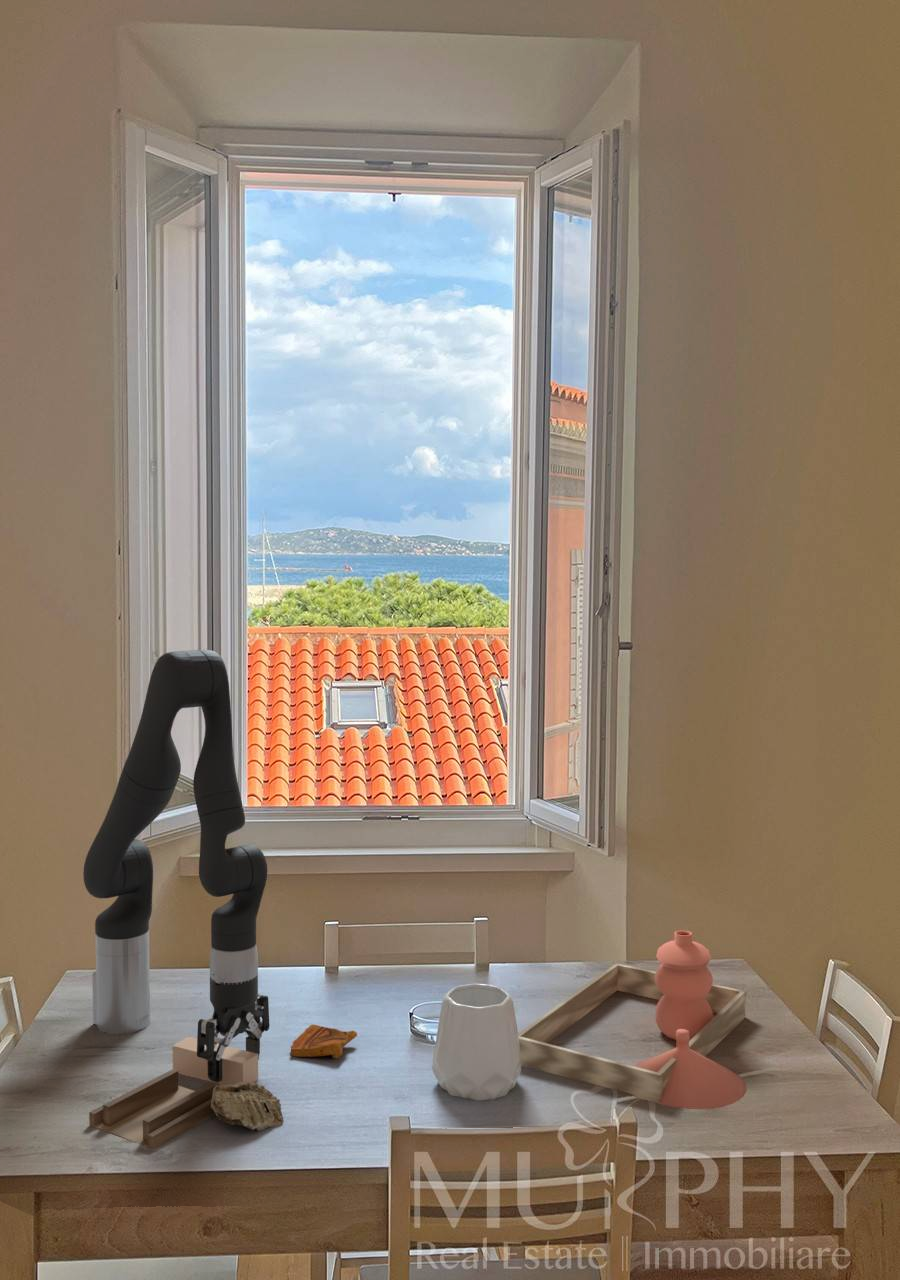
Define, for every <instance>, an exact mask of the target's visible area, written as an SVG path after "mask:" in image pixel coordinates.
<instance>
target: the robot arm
mask: <svg viewBox="0 0 900 1280" xmlns="http://www.w3.org/2000/svg"><path fill="white" fill-rule="evenodd" d="M198 707H201V710H202V713H203V717H204V727H205V728H204V729H205V731H204V737H203V743H202V746H201V750H200V753H199V756H198V759H197V762H196V766H195V769H194V773H193V774H194V775H193V780H192V781H193V783H192V785H193V795H194V799H195V805H196V810H197V814H198V819H199V825H200V841H199V845H200V846H199V858H198V859H199V860H198V877H199V882H200V884H201V886H202V887H203V889H204V891H206V893H207V894H209V895H210V896H212V897H214V898H215V897H217V898H221V897H225V896H230V895H232V897H231V898H230V900H229V901H227V902H226V903H224V904H223V905H221V906H219V907H217V908H216V909H215V910H214V911H213V913H212V915H211V919H210V921H211V922H210V930H211V931H210V933H211V934H210V935H211V936H210V937H211V938H210V939H211V940H210V941H211V942H210V943H211V945H210V955H209V1001H210V1004H211V1005H212V1007H213V1014H212V1016H211V1018H209V1019H203V1018H200V1019H199V1020H198V1022H197V1036H196V1039H197V1057H200V1058H203V1059H206V1060H208V1078H209V1079H210V1080H211V1081H214V1082H217V1083H216V1084H219V1083H218V1082H220V1081H222V1059H221V1057H222V1055H223V1052H224V1050H225V1048H226V1047H227V1046H228V1047H230V1045H231V1042H232V1039H234V1038H235V1037H237V1036H238V1035H239V1034H245V1035H246V1037H245V1051H248V1052H252V1053H256V1054H258V1061H259V1060H260V1053H261V1038H262V1036H263V1033H264V1032H268V1031H269V1029H270V1010H269V1009H270V1007H269V1003H270V1002H269V996H267V995H264V994H261V993H259V957H258V948H257V917H258V913H259V910H260V906H261V902H262V899H263V895H264V892H265V888H266V883H267V878H268V864H267V859H266V856H265V855H264V852H263V851H262V850H261V849H260V848H259V847H258V846H256V845H253V844H244V845H240V846H235V847H230V848H226V842H227V838H228V835H230V834H233V833H235V832H238V830H241V829H242V828H243V827H244V826H245V824H246V816H245V815H246V814H245V811H244V805H243V801H242V796H241V792H240V788H239V782H238V778H237V772H236V766H235V758H234V745H233V744H234V743H233V724H232V722H233V721H232V709H231V708H232V707H231V693H230V682H229V675H228V670H227V667H226V664H225V662H224V659H223V658H222V656H221V655H220V654H218V652H216V651H214V650H211V649H196V650H195V649H194V650H176V651H169V652H165V653H163V654H161V655H160V657H158V659H157V661H156V662H155V663H154V667H153V669H152V671H151V674H150V679H149V683H148V686H147V690H146V695H145V699H144V704H143V709H142V712H141V715H140V719H139V722H138V723H139V724H138V726H137V729H136V733H135V735H134V739H133V741H132V744H131V747H130V750H129V753H128V755H127V757H126V760H125V763H124V765H123V768H122V770H121V773H120V776H119V779H118V783H117V786H116V789H115V792H114V795H113V798H112V800H111V803H110V804H109V808H108V810H107V812H106V814H105V817H104V820H103V822H102V824H101V826H100V828H99V830H98V831H97V834H96V835H95V838H94V839H93V841H92V844H90V845H91V846H90V847H89V850H88V851H87V854H86V857H85V861H84V864H83V883H84V886H85V889H86V891H87V892H88V893H89V894H90V895H91V896H92V897H93V898H96V899H110V898H115V897H117V898H116V899H115V901H114V902H112V904H110V905H109V907H107V908H106V909H105V910H103V911H102V912H101V913H99V914H98V915H96V919H95V922H94V930H95V931H94V933H95V939H94V940H95V971H94V972H93V973H92V977H91V978H92V981H91V982H92V1020H93V1021H92V1022H93V1023H92V1024H93V1025H94V1024H95V1026H96V1027H97V1030H98V1029H99V1030H100V1031H99V1030H98V1031H99V1032H101V1031H102V1033H104V1032H106V1033H105V1034H109V1033H114V1034H113V1035H125V1034H124V1033H126V1034H131V1032H132V1033H135V1032H136V1033H137V1032H139V1031H142V1030H144V1029H146V1028H148V1026H149V1025H151V1024H150V1023H151V984H150V983H151V981H150V980H151V979H150V978H151V975H150V971H151V970H150V920H151V916H152V911H153V890H154V889H153V888H154V887H153V886H154V864H153V863H154V862H153V858H152V854H151V851H150V849H149V847H148V846H147V844H146V843H145V842H143V841H142V840H141V839H137V837H138V836H139V835H140V834H141V833H142V832H143V831H144V830H145V829H146V828H147V827H148V826H150V825H151V824H152V823H153V822H154V821H155V820H156V819H157V817H158V816H160V815H161V813H162V812H164V810H165V809H166V808H167V806H168V804H169V803H170V801H171V799H172V797H173V794H174V791H175V789H176V786H177V784H178V781H179V779H180V775H181V771H182V770H181V769H182V764H181V759H180V758H181V757H180V756H179V753H178V750H177V748H176V744H175V742H174V739H173V737H172V728H173V726H174V721H175V719H176V717H177V715H178V713H179V711H180V710H182V709H189V708H190V709H191V708H198ZM261 1019H262V1020H261ZM143 1028H144V1029H143ZM141 1029H142V1030H141ZM219 1034H220V1035H221V1036H223V1038H221V1037H218V1035H219ZM216 1044H219V1046H218V1048H217V1051H214V1048H215V1046H216ZM205 1045H206V1050H204V1049H205ZM214 1082H213V1083H214Z"/></svg>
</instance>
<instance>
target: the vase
mask: <svg viewBox="0 0 900 1280" xmlns="http://www.w3.org/2000/svg"><path fill="white" fill-rule="evenodd" d="M514 1005H515V1004H514V1001H513V998H512V996H511V995H510V994H509V993H508V992H507V991H506V990H505V989H503V988H501V987H500V986H499V987H498V986H495V985H493V984H485V983H467V984H461V985H458V986H454V987H453V988H451V989H450V990H448V991H447V992H446V994H445V995H444V997H443V999H442V1002H441V1007H440V1012H439V1013H440V1015H439V1018H438V1024H437V1025H438V1026H437V1032H436V1037H435V1038H436V1039H435V1045H434V1051H433V1058H432V1066H431V1068H432V1072H433V1075H434V1077H435V1079H436V1080H437V1082H438V1083H439V1087H440V1088H441V1089H443V1090H445V1091H447V1093H448V1095H449V1096H451V1097H453V1096H454V1097H460V1098H462V1099H471V1100H474V1101H486V1100H495V1099H497V1098H501V1097H506V1096H507V1095H508V1093H509V1092H510V1091H511V1090H512V1089H514V1088H515V1086H517V1082H518V1079H519V1078H520V1075H521V1071H522V1066H521V1054H520V1045H519V1037H518V1033H519V1030H518V1023H517V1016H516V1010H515V1006H514Z"/></svg>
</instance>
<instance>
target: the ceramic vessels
mask: <svg viewBox="0 0 900 1280" xmlns="http://www.w3.org/2000/svg"><path fill="white" fill-rule="evenodd" d="M673 935H674V940H669V941H667V942H665V943H663V944H662V945H661V946H659V947H658V949H657V952H656V959H657V960H658V962H659V963H660V965H659V966H658V968H657V969H656V971H655V972H656V974H655V983H656V985H657V987H658V989H659V991H660V992H661V993H663V994H664V996H662V998H661V999H660V1000H658V1003H657V1004H656V1008H655V1014H654V1017H655V1018H654V1019H655V1023H656V1025H657V1028H658V1029H659V1030H660V1031H661V1032H662V1034H663V1035H664V1036H666V1037H667V1038H670V1039H672V1040H675V1041H676V1042H675V1043H676V1044H675V1045H676V1047H675V1048H674V1047H673V1049H670V1050H668V1051H665V1052H662V1053H660V1054H658V1055H656V1056H653V1057H651V1058H648V1059H645V1060H644V1061H641V1062H639V1063H638V1064H635V1067H639V1068H642V1069H646V1070H650V1071H654V1072H658V1071H659V1070H660V1069H661V1068H662V1067H663V1066H664V1065H665V1064H666V1063H667V1062H668V1061H669V1060H671V1059H672V1058H674V1059H677V1060H676V1062H675V1065H674V1068H673V1070H672V1073H671V1075H670V1078H669V1080H668V1083H667V1085H666V1088H665V1091H664V1093H663V1096H662V1098H661V1101H660V1103H657V1105H658V1104H659V1105H661V1106H665V1107H670V1106H671V1108H675V1107H680V1108H679V1109H684V1108H686V1109H685V1110H708V1109H709V1110H710V1109H718V1108H723V1107H726V1106H730V1105H732V1104H735V1103H736V1102H738V1101H741V1099H743V1098H744V1097H745V1095H746V1093H747V1088H748V1087H747V1084H746V1082H745V1080H744V1079H743V1078H742V1077H741V1076H740V1075H739V1074H737V1073H735V1072H734V1071H732V1070H731V1069H730V1068H727V1067H726V1066H724V1065H722V1064H720V1063H717V1061H714V1060H712V1059H710V1058H709V1057H707V1056H703V1055H701V1054H699V1053H697V1052H695V1051H693V1050H691V1049H689V1041H690V1040H691V1039H692V1038H693V1037H694V1036H695V1035H696V1034H697V1033H698V1032H699V1031H700V1030H701V1029H702V1028H703V1027H704V1026H706V1025H707V1024H708V1023H709V1022H710V1021H711V1020H712V1019H713V1018H714V1015H713V1013H714V1012H712V1009H711V1007H710V1005H709V1003H708V1001H707V1000H706V999H705V998H704V997H703V996H705V995H706V994H708V992H709V991H710V989H711V987H712V984H713V983H714V982H713V981H714V980H713V975H712V972H711V971H710V969H709V968H708V967H707V966H708V964H709V963H710V961H711V957H712V956H711V954H710V950H709V949H708V948H706V947H705V946H704V945H703V944H701V943H699V942H696V941H693V932H692V931H689V930H683V929H682V930H676V931H674V934H673Z"/></svg>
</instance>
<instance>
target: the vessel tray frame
mask: <svg viewBox="0 0 900 1280" xmlns="http://www.w3.org/2000/svg"><path fill="white" fill-rule="evenodd" d="M655 974H656V971H655V970H649V969H644V968H639V967H635V966H631V965H630V966H629V965H625V964H620V963H614V964H613V965H612V966H610V967H609V968H607V969H606V970H604V971H602V973H600V974H598V975H597V976H596V977H595V978H593V979H592V980H590V981H589V982H588V983H586V984H585V985H583V986H582V987H581V988H579V989H578V990H577V991H575V992H574V993H572V994H571V995H569V996H568V997H566V998H565V999H564V1000H563V1001H562V1002H560V1003H559V1004H557V1005H556V1006H553V1008H551V1009H550V1010H548V1011H547V1012H546V1013H544V1014H543V1015H542V1016H540V1017H539V1018H538V1019H536V1020H535V1021H534V1022H532V1023H531V1024H529V1025H528V1026H526V1027H525V1028H524V1029H522V1030H521V1031H518V1037H519V1045H520V1054H521V1067H525V1068H528V1069H533V1070H537V1071H541V1072H545V1073H547V1074H548V1073H549V1074H553V1075H557V1076H561V1077H565V1078H568V1079H572V1080H576V1081H579V1082H584V1083H588V1084H591V1085H595V1086H600V1087H603V1088H608V1089H611V1090H612V1089H613V1090H615V1091H620V1092H622V1093H623V1092H624V1093H626V1094H627V1093H628V1094H630V1095H631V1096H634V1097H633V1098H635V1097H636V1098H635V1099H639V1098H640V1100H643V1101H646V1100H649V1101H648V1102H650V1101H652V1102H651V1103H654V1102H655V1104H658V1103H660V1101H661V1098H662V1096H663V1093H664V1091H665V1088H666V1085H667V1083H668V1080H669V1078H670V1075H671V1073H672V1070H673V1068H674V1065H675V1062H676V1060H677V1059H674V1058H672V1059H671V1060H669V1061H668V1062H667V1063H666V1064H665V1065H664V1066H663V1067H662V1068H661V1069H660V1070H659V1071H658V1072H654V1071H650V1070H646V1069H642V1068H639V1067H635V1066H634V1065H630V1064H627V1063H624V1062H623V1063H622V1062H619V1061H615V1060H611V1059H608V1058H604V1057H600V1056H596V1055H593V1054H589V1053H584V1052H581V1051H577V1050H573V1049H569V1048H565V1047H563V1046H560V1045H559V1046H558V1045H554V1044H550V1043H549V1042H551V1041H552V1040H554V1039H555V1038H557V1037H559V1035H560V1034H562V1033H563V1032H565V1031H566V1030H567V1029H569V1028H570V1027H571V1026H573V1025H574V1024H575V1023H578V1021H579V1020H581V1019H582V1018H584V1017H585V1016H586V1015H587V1014H589V1013H590V1012H591V1011H592V1010H594V1009H595V1008H597V1007H598V1006H599V1005H601V1003H603V1002H605V1000H607V999H608V998H610V997H611V996H612V995H613V994H615V993H616V992H617V991H618V992H623V993H627V994H631V995H636V996H640V997H645V998H649V999H653V1000H657V1001H660V999H661V998H662V996H664V994H663V993H661V992H660V991H659V989H658V987H657V985H656V983H655ZM703 997H704V998H705V999H706V1000H707V1001H708V1003H709V1005H710V1007H711V1009H712V1013H714V1014H716V1015H715V1016H713V1019H712V1020H711V1021H710V1022H709V1023H708V1024H707V1025H706V1026H704V1027H703V1028H702V1029H701V1030H700V1031H699V1032H698V1033H697V1034H696V1035H695V1036H694V1037H693V1038H692V1039H691V1040H690V1041H689V1049H691V1050H693V1051H695V1052H697V1053H699V1054H701V1055H703V1056H705V1057H707V1055H708V1054H709V1053H710V1052H712V1050H713V1049H714V1048H715V1047H716V1046H717V1045H718V1044H719V1043H721V1041H722V1040H724V1039H725V1038H726V1037H727V1036H728V1035H729V1034H730V1033H731V1032H732V1031H733V1030H734V1029H735V1028H736V1027H737V1026H738V1025H739V1024H740V1023H741V1022H742V1021H743V1020H744V1019H745V1018H746V1008H747V1007H746V1003H747V991H746V990H741V989H738V988H732V987H728V986H724V985H723V986H722V985H719V984H715V983H714V984H713V983H712V987H711V989H710V991H709V992H708V994H706V995H705V996H703ZM631 1096H630V1097H631ZM644 1099H645V1100H644Z"/></svg>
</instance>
